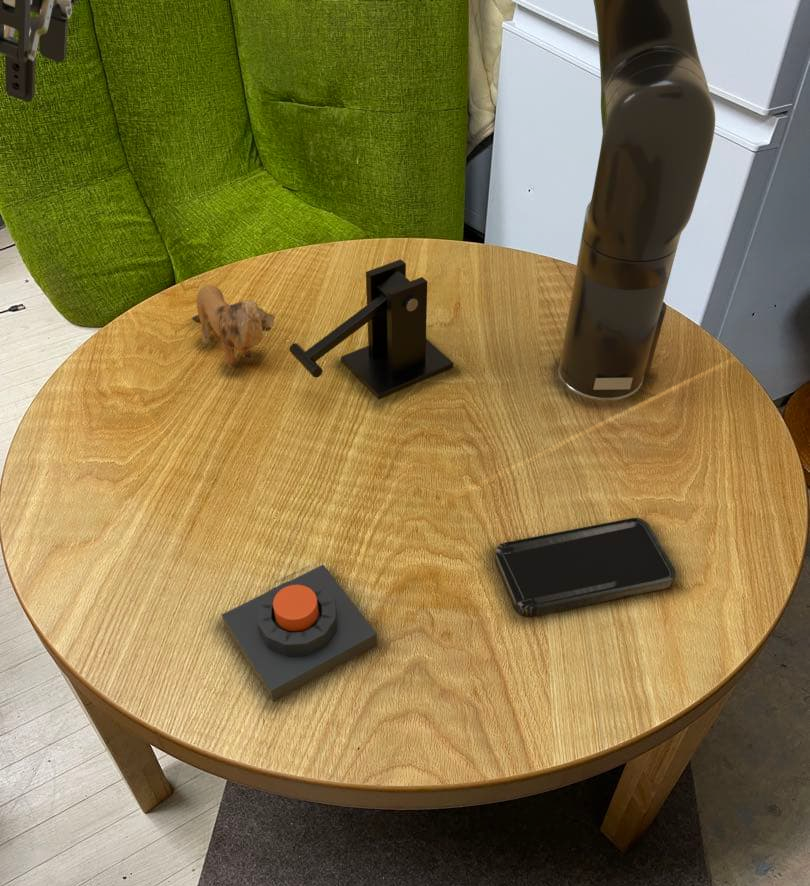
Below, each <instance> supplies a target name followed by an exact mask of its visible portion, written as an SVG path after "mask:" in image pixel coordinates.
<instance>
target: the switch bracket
mask: <svg viewBox="0 0 810 886" xmlns="http://www.w3.org/2000/svg"><path fill="white" fill-rule="evenodd" d="M397 271H399V272H400V273H401V274H402V275H404V276H405V277H406V278H407V263H406V262H405V261H404V260H403V259H398V260H394V261H392V262H388V263H386V264H384V265H381V266H378V267H375V268H373V269H370V270H367V271H365V289H366V305H368V304H369V303H370V302H372V301H373V300H374V299H376V298H377V297H378V296H380V295H381V294H380V292H379V290H378V287H377V286H378V285H380V284H381V283H382V282H384V281H385V280H386V279H388V278H389V277H390V276H392V275H393V274H394V273H396V272H397ZM409 281H410V282H407V283H405V284H402V285H399V286H397V287H394V288H391V289H388V290H387V308H386V309H384V310H383V311H382V312H380V313H379V314H378V315H377V316H375V317H374V318H373V319H371V320H370V321H369V322H367V343H368V345H367V346H364V347H361V348H359V349H357V350H354V351H352V352H349V353H347V354H344V355H341V356H340V362H341V363H342V364H343V365H344V366H345V367H346V368H347V369H348V370H349V371H350V372H351V374H353V375H354V376H355V377H356V378H357V379H358V380H359V381H360V382H361V383H362V384H363V385H364V386H365V387H366V389H368V391H369V392H370V393H372V394H373V395H374V397H376V398H377V400H381V399H383V398H385V397H388V396H391V395H393V394H395V393H397V392H400V391H401V390H404V389H407V388H410V387H411V386H414V385H416V384H419V383H420V382H424V381H425V380H428V379H430V378H433V377H435V376H437V375H439V374H442V373H444V372H447V371H448V370H452V369H453V368H454V362H453V361H452V360H451V359H450V358H448V356H446V355H445V353H443V352H442V351H441V350H440V349H438V348H437V347H436V346H435V345H434V344H433V343H432V342H430V341H429V340H428V339H427V317H428V315H427V314H428V313H427V312H428V280H427V279H426V278H424V277H423V276H421V277H417V278H416V279H413V280H409Z"/></svg>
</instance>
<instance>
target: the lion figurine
mask: <svg viewBox="0 0 810 886" xmlns="http://www.w3.org/2000/svg"><path fill="white" fill-rule="evenodd" d="M258 306H259V305H258V303H257V301H255V300H254V299H248V300H240V301H238V302H236V303H232V304H229V303H228V302H227V301H225V298H224V295H223V292H222V290H221V289H220V288H219V287H217V286H215V285H208V284H205V285H203V286H202V287H201V288H200V289H199V290H198V292H197V295H196V309H197V310H196V311H197V314H196V315H194V316H193V317H191V320H192V321H194V322H196V323H197V322H200V325H201V326H200V330H201V342H202V343H203V344H209V343H211V342H212V341H211V338H210V335H209V327H208V323H209V324H210V326H211V328H212V329H213V330H214V331H213V332H215V333H216V334H217V335H218V337H220V341H221V344H222V349H223V352H224V355H225V358H226V362H227V366H228V367H229V368H231V369H233V368H236V367H237V366H238V365H239V362H238V361H237V360H236V356H235V351H238V352H240V353H242V357H243V358H244V359H246V358H253V357H254V355H253V354H252V352H251V349H253V348H254V347H255V346H259V345H260V344H261V343H262V342H263V340H264V338H265V336H264V335H265V334H264V332H267V333H270V332H271V331H272V327H274V324H275V320H276V316H275V315H274V314H272V313H269V312H266V311H265V310H264V309H263V308H261V307H258Z"/></svg>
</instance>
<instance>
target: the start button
mask: <svg viewBox="0 0 810 886" xmlns="http://www.w3.org/2000/svg"><path fill="white" fill-rule="evenodd" d="M273 608H274V613H275V618H276V621H277V623H278V624H279V625H280V626H281V627H282V628H283V629H285V630H288V631H293V632H297V631H303V630H306V629H308V628H309V627H311V626H312V625H313V624H314V623H315V622H316V620H317V618H318V614H319V611H318V603H317V597H316V594H315V593H314V592H313V591H312V590H311V589H310V588H308V587H306V586H303V585H290V586H287V587H285V588H283V589H281V590H280V591H279V592H278V593H277V594H276V596H275V598H274V600H273Z"/></svg>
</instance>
